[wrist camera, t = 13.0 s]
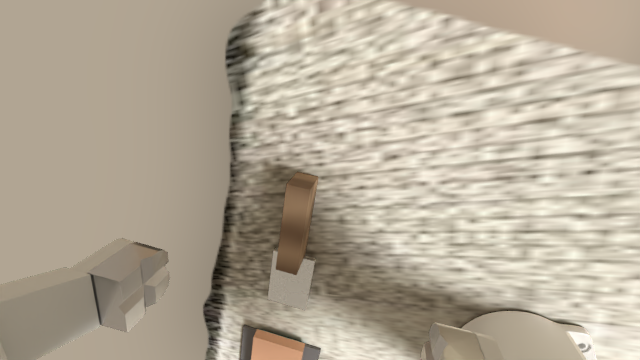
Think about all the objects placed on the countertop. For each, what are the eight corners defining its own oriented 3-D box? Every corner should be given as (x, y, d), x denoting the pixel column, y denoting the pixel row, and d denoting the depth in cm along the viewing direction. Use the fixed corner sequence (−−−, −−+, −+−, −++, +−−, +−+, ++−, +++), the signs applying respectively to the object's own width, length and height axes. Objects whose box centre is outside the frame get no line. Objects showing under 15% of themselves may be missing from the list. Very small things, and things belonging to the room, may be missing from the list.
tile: (253, 336, 46) (249, 375, 49) (302, 352, 45) (295, 390, 48) (258, 327, 47) (253, 365, 51) (305, 342, 46) (298, 379, 50)
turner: (285, 169, 37) (272, 181, 33) (331, 179, 37) (324, 193, 33) (269, 295, 45) (258, 317, 41) (306, 306, 45) (299, 330, 40)
